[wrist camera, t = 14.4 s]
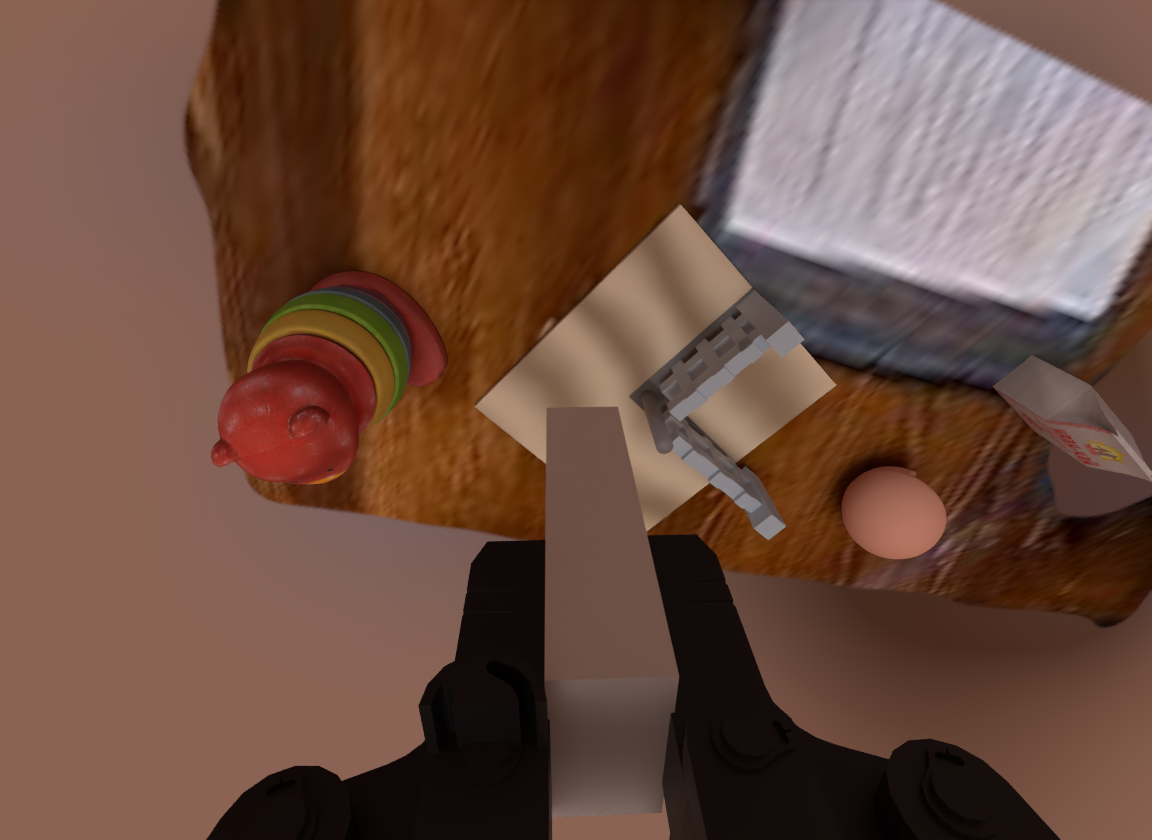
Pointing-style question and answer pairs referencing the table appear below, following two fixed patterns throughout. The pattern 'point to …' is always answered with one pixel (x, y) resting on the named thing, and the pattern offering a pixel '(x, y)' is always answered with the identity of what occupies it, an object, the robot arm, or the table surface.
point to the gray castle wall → (725, 475)
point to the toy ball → (893, 513)
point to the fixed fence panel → (719, 363)
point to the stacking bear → (325, 378)
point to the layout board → (655, 362)
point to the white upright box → (1071, 417)
